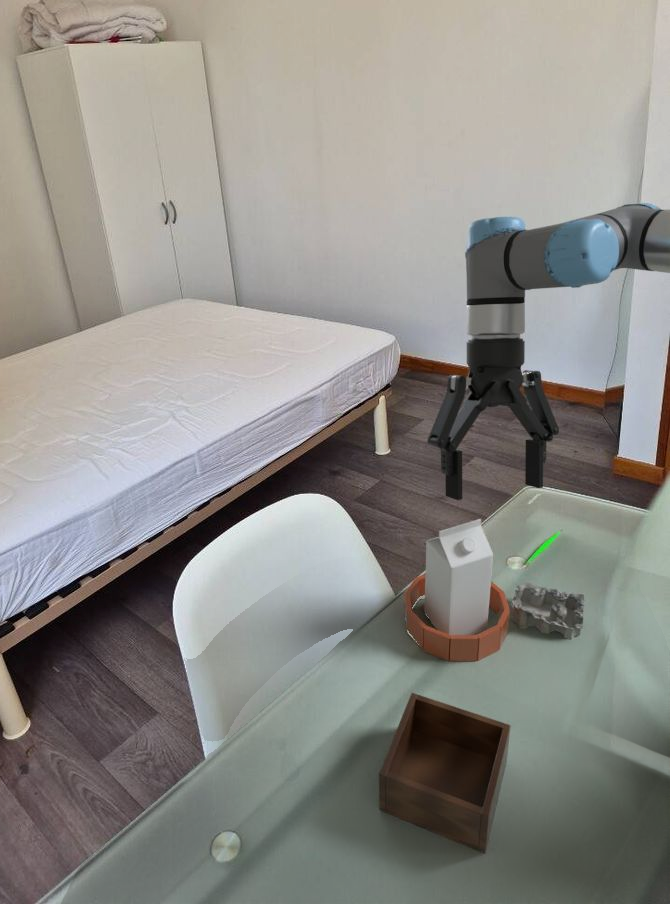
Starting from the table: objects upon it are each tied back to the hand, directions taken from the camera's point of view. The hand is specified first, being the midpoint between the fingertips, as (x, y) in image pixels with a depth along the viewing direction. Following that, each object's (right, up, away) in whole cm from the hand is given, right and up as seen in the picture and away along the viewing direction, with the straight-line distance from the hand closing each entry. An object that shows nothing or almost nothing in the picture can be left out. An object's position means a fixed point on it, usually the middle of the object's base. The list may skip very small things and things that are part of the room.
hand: (495, 492), depth 95 cm
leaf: (+17, -14, +29) cm, 37 cm away
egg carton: (+12, -22, +14) cm, 29 cm away
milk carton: (-2, -23, +15) cm, 27 cm away
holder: (-9, -35, -10) cm, 37 cm away
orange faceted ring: (-2, -23, +15) cm, 27 cm away
